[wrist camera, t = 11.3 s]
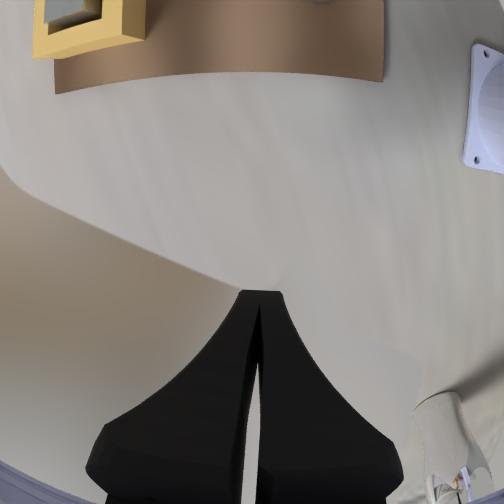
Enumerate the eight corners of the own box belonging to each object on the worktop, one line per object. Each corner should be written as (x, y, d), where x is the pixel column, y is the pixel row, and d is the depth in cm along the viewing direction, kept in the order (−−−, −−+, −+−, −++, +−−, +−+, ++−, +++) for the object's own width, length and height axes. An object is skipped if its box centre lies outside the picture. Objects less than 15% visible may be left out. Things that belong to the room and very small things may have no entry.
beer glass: (467, 402, 29) (501, 506, 16) (418, 429, 31) (440, 534, 18) (455, 379, 26) (497, 503, 13) (399, 410, 29) (424, 534, 16)
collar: (148, -43, 11) (127, -61, 9) (145, 40, 14) (121, 34, 11) (66, -19, 11) (38, -28, 9) (62, 58, 14) (32, 59, 12)
